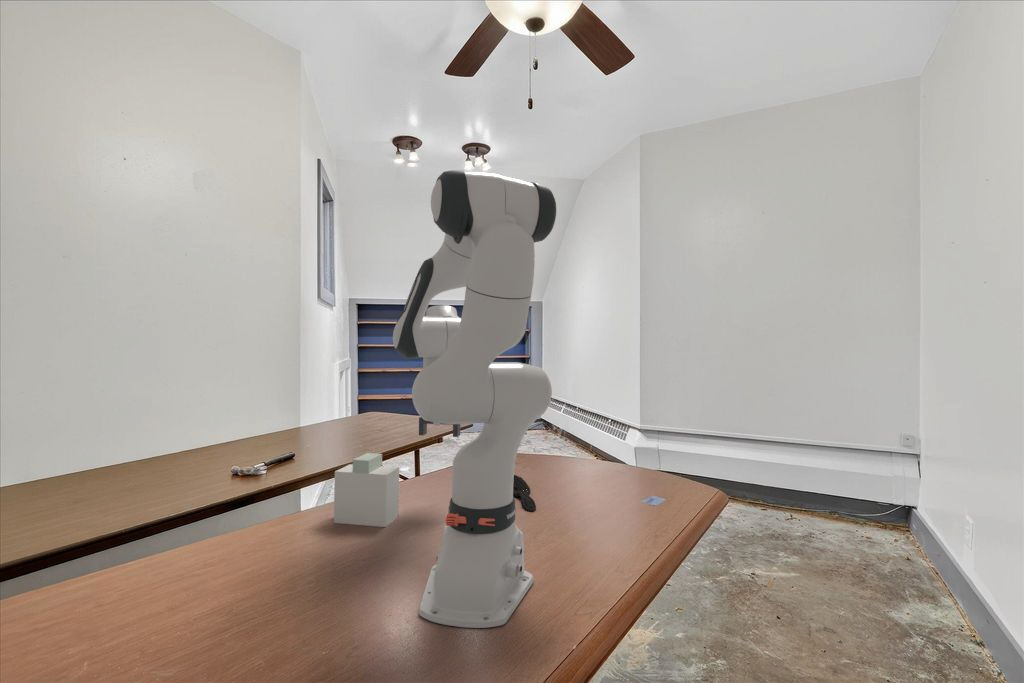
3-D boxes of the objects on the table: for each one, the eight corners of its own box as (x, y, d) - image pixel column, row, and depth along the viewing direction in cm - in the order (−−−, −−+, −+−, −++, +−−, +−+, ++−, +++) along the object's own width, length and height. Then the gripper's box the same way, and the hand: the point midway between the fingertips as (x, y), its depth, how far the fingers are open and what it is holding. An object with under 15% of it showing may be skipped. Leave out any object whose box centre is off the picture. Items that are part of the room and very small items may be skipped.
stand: (398, 516, 115) (399, 454, 115) (385, 527, 108) (387, 461, 108) (349, 512, 117) (350, 452, 117) (333, 522, 110) (334, 458, 110)
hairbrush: (516, 503, 118) (497, 472, 143) (515, 517, 119) (497, 484, 143) (547, 501, 120) (524, 471, 145) (547, 516, 120) (524, 483, 145)
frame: (460, 435, 120) (460, 417, 120) (457, 436, 118) (457, 418, 118) (422, 433, 122) (422, 416, 122) (418, 435, 120) (419, 417, 120)
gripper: (439, 371, 110) (438, 430, 109) (463, 368, 130) (462, 418, 129) (413, 370, 111) (412, 429, 110) (441, 367, 131) (440, 417, 131)
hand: (439, 423), depth 120 cm, fingers closed on frame, 2 cm apart
